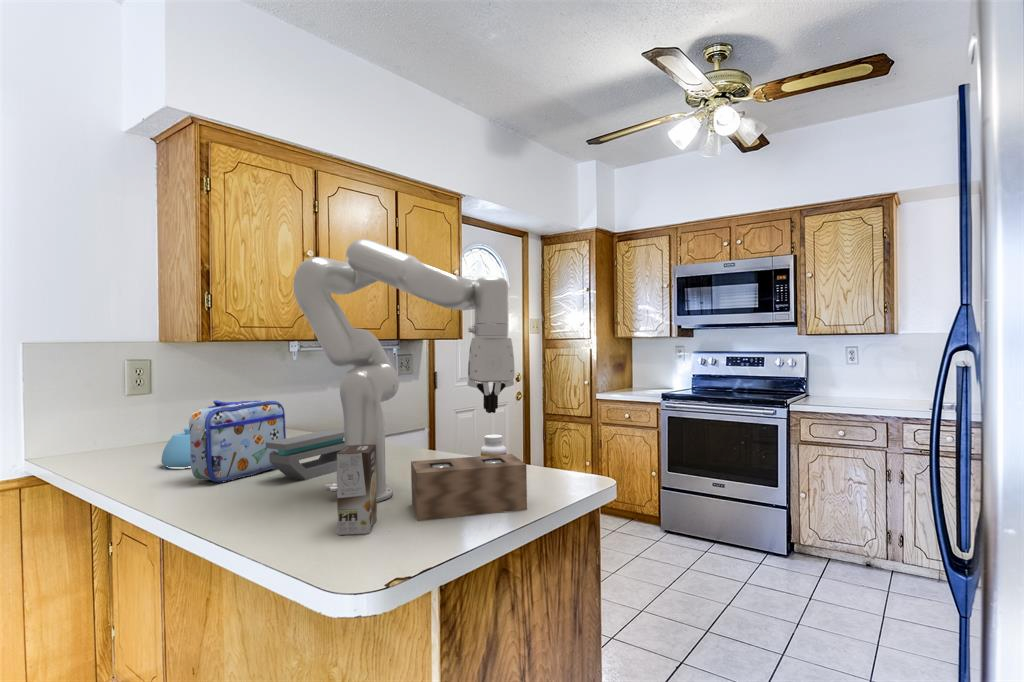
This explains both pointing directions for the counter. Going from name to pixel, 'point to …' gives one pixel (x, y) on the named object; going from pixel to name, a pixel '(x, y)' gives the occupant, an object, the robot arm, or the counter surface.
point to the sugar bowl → (177, 450)
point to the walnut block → (468, 486)
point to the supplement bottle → (493, 445)
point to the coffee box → (356, 489)
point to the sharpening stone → (307, 454)
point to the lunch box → (234, 438)
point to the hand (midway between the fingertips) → (490, 412)
